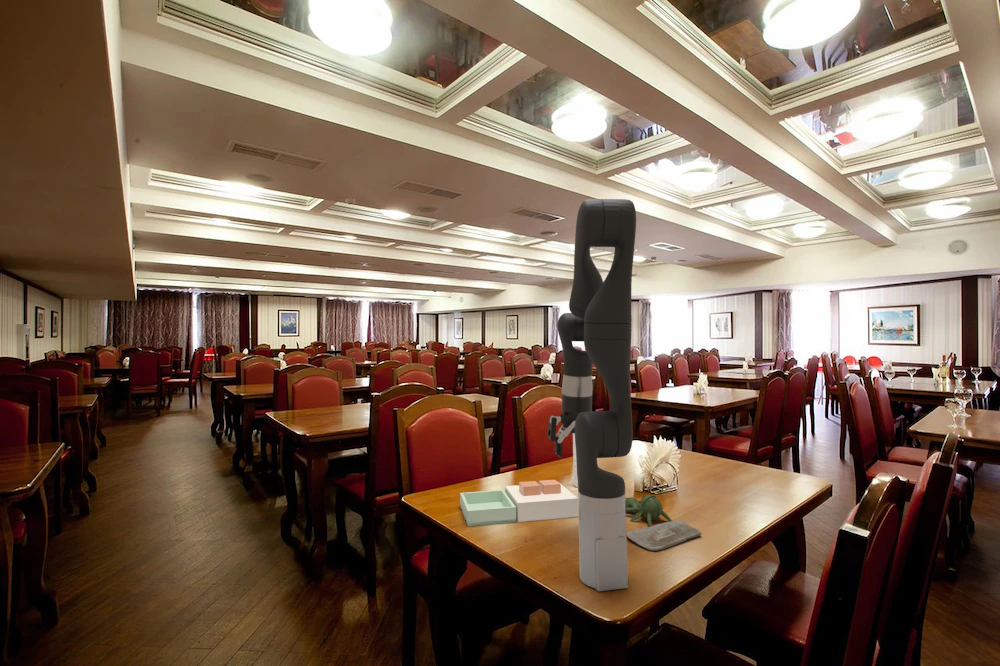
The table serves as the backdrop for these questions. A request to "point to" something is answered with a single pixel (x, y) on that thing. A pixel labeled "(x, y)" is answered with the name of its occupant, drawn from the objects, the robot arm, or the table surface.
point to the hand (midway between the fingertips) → (575, 455)
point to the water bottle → (574, 464)
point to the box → (487, 508)
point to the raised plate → (543, 505)
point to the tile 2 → (550, 486)
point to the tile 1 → (529, 488)
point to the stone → (663, 535)
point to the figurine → (645, 508)
